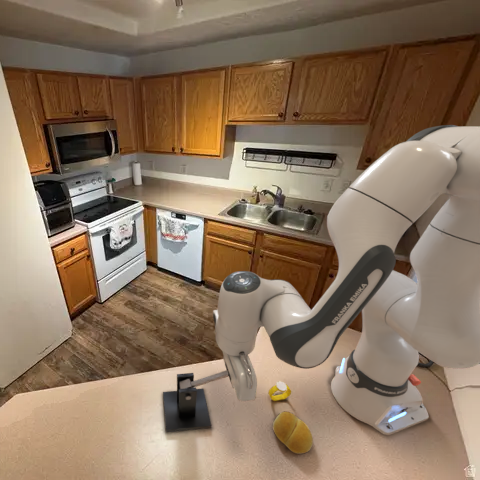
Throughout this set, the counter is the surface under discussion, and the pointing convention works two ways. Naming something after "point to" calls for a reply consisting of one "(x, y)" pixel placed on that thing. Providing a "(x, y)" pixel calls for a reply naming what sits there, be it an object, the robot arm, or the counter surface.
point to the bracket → (185, 407)
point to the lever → (204, 379)
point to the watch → (282, 388)
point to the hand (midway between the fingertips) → (230, 373)
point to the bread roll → (292, 432)
